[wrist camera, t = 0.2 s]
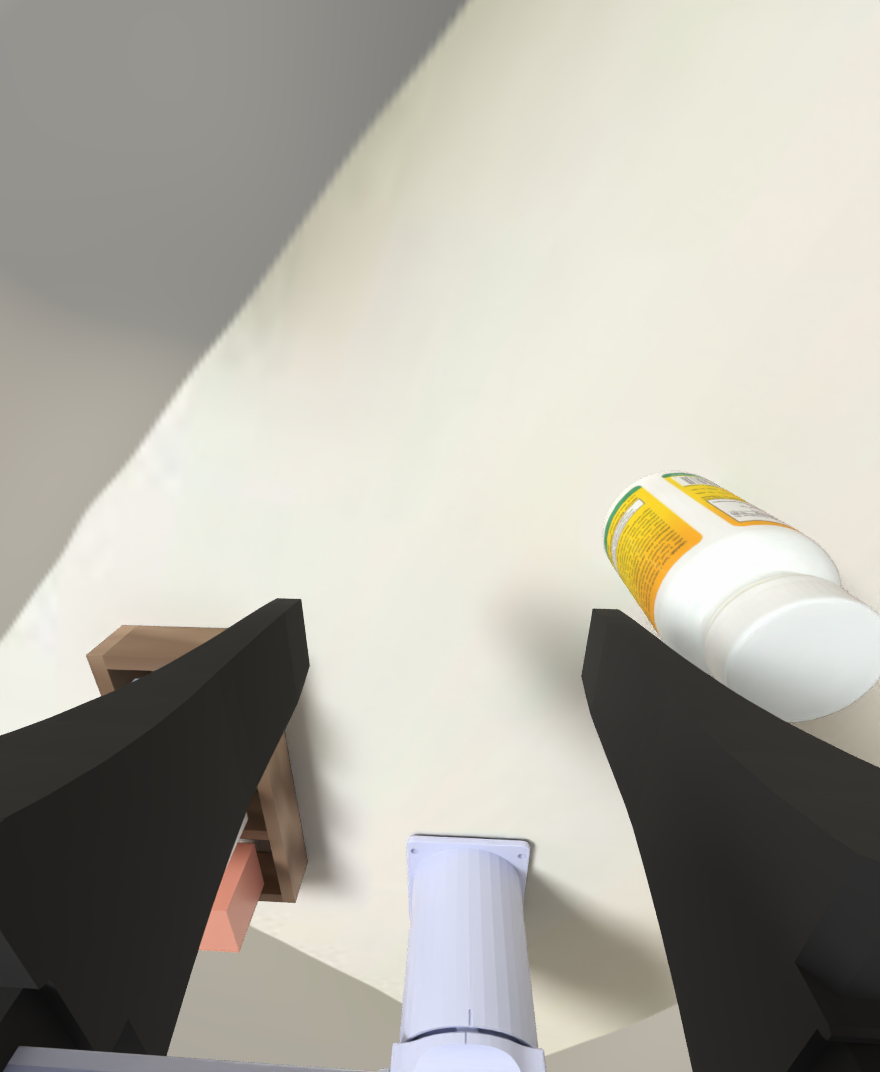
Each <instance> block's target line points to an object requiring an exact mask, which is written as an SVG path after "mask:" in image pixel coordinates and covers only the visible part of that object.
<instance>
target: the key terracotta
mask: <svg viewBox="0 0 880 1072" xmlns="http://www.w3.org/2000/svg"><path fill="white" fill-rule="evenodd" d="M263 886H264V881H263V877H262V873H261V869H260V864H259V860H258V856H257V852H256V848H255V844H254V843H237V845H236V847H235V850H234V852H233V854H232V856H231V858H230V861H229V863H228V865H227V867H226V870H225V872H224V875H223V878H222V881H221V884H220V886H219V889H218V892H217V895H216V898H215V901H214V904H213V907H212V910H211V913H210V916H209V919H208V922H207V925H206V928H205V931H204V934H203V938H202V941H201V944H200V947H199V950H207V951H224V952H240V949H241V946H242V943H243V941H244V938H245V935H246V932H247V930H248V927H249V924H250V922H251V919H252V916H253V913H254V911H255V908H256V905H257V902H258V900H259V897H260V894H261V891H262V889H263Z"/></svg>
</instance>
